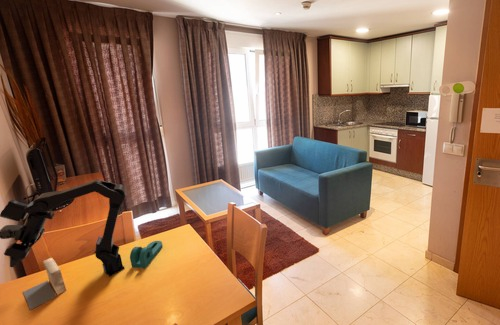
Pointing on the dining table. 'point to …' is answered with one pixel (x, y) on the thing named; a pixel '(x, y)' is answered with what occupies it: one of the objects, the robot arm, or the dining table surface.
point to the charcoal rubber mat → (39, 295)
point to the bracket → (145, 254)
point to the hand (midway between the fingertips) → (17, 259)
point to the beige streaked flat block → (54, 276)
